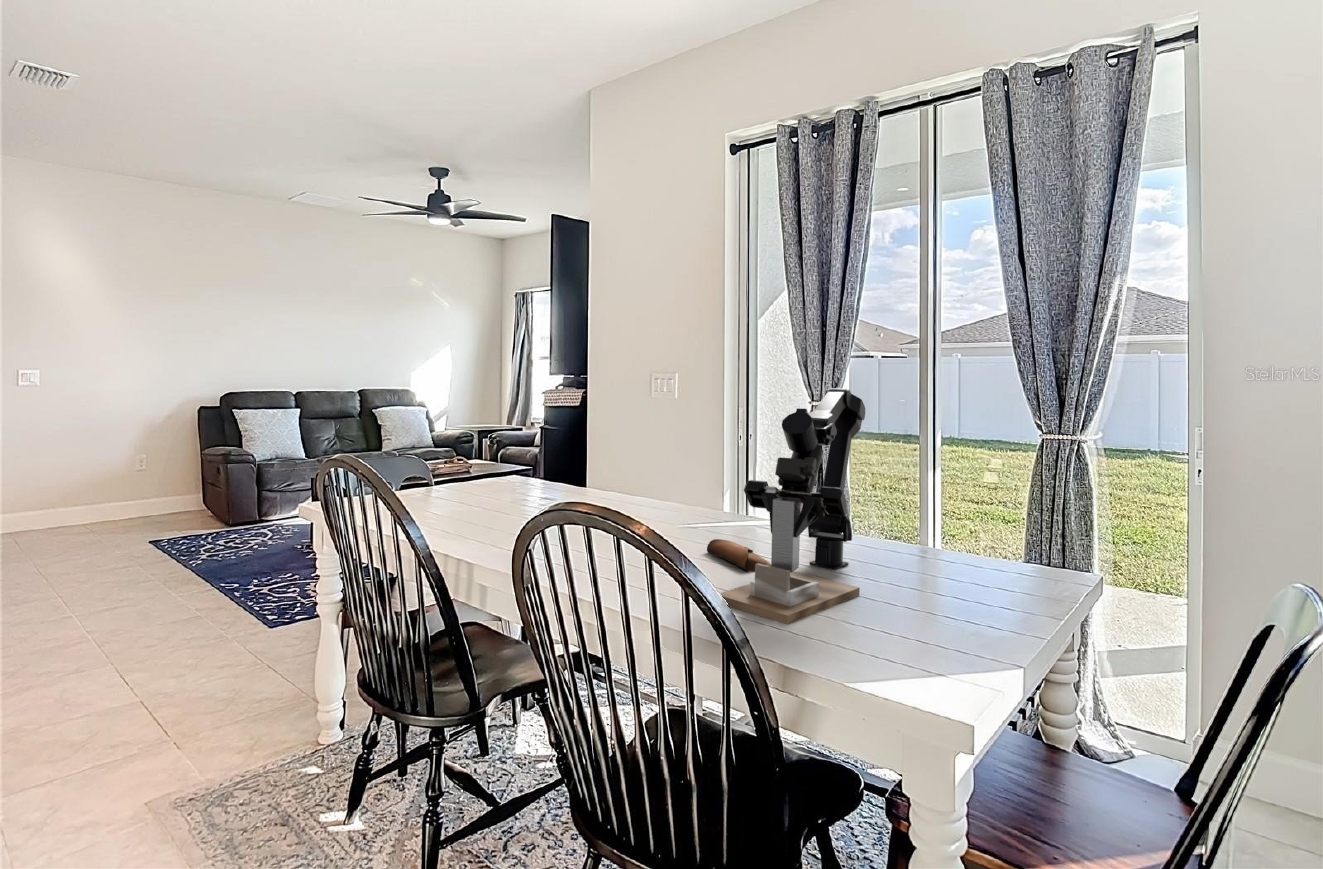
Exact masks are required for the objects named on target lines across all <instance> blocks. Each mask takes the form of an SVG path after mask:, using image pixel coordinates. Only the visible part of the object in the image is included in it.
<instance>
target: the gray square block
mask: <svg viewBox="0 0 1323 869" xmlns="http://www.w3.org/2000/svg"><path fill="white" fill-rule="evenodd" d="M801 505H802V503H801V498H790V497H778V498H776V499H773V517H772V533H771V556H770V557H771V558H770V559H771V562H770V564H771V566H772V567H776V568H780V569H785V570H789V571H790V572H791V573H792V572H796V570H798V569H799V568H800V545H801V544H800V541H801V540H800V535H801V534H800V535H799V536H798V537H797V538H796V537H794V531H795V527H796V524H797V521H798V518H799V516H800V513H801V510H802V507H801Z"/></svg>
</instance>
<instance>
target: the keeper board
mask: <svg viewBox="0 0 1323 869" xmlns="http://www.w3.org/2000/svg"><path fill="white" fill-rule="evenodd" d="M860 588H861V587H858V586H855V585H852V584H851V585H850V584H846V583H842V582H838V581H834V580H830V579H826V578H822V577H817V576H814V575H810V574H805V573H801V572H797V571H794V572H792V573H791V572H790V571H789V570H785V569H780V568H776V567H772V566H768V565H764V564H760V563H758V564H755V571H754V580H751V581H750V583H748V584H744V585H741V586H738V587H735V588H732V589H728V590H726V591H722V592H720V593H721V595H722V597H723V598H724V599H725V600H726V602H727V603H728V605H729V606H730V608H733V609H736V610H739V611H743V612H747V613H750V614H753V615H757V616H760V617H763V618H766V619H769V620H772V621H776V622H779V623H782V624H786V625H790V624H791V623H794V622H796V621H798V620H802V619H804V618H806V617H808V616H810V615H811V616H812V615H813V614H815V613H818V612H821V611H823V610H826V609H828V608H831V607H834V606H836V605H838V604H840V603H843V602H846V601H848V600H850V599H854V598H855V597H858V596H860V590H861V589H860ZM729 606H728V607H729Z"/></svg>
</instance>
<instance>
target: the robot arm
mask: <svg viewBox="0 0 1323 869" xmlns="http://www.w3.org/2000/svg"><path fill="white" fill-rule="evenodd" d="M865 417H866V407H865V403H864V402H863V399H862V398H860V397H858V396H857V395H856V394H855V395H854V394H853V393H851V391H850V389H847V388H839V387H838V388H837V387H836V388H834V387H833V388H828V389H826V390H825V392H824V396H823V397H822V399H821V400H820V402H819V403H818V404H817V406H816V408H815V409H814V410H813V411H810V412H808V409H807V408H796V410H795V412H793V413H790V414H788V415H787V416H786V417H784V419H782V421H781V428H782V431H783V434H784V437H785V440H786V443H787V447H788V449H789V450H790V451H792V454H791V456H790V457H778V458H777V461H776V467H775V473H774V474H775V476H777V477H778V480H777V483H778V485H779V487H780V486H781V489H780V488H778V487H776V486H772V485H771V486H770V485H769V483H768V481H765V480H754V479H749V480H748V481H746V483H745V485H744V488H743V491H744V494H745V497H746V498H747V502H748V503H749V506H750V507H752V508H757V509H766V511H767V512H768V514H769V527H770V533H771V534H772V517H773V499H776V498H778V497H790V498H801V504H802V507H801V511H800V516H799V518H798V521H797V524H796V527H795V531H794V537H796V538H797V537H798V536H799V535H801V534H802V533H804V531H805V530H807V531H808V532H807V534H808V538H814V539H815V549H814V550H815V551H814V552H815V554H814V560H811V561H809V565H812V566H815V567H820V568H823V569H827V570H828V569H829V570H837V569H841V568H844V567H847V566H849V562H847V561H844V559H843V558H844V557H843V556H844V554H843V553H844V543H847V542H851V541H852V540H853V528H852V523H851V519H850V517H849V514H848V511H849V510H848V508H847V506H848V504H847V498H846V496H845V491H844V489H845V484H846V483H845V482H846V477H847V470H848V464H849V457H850V451H851V446H852V445H851V444H852V440H853V438H854V437H855V436H856V435H857V434H858V433H859V432H860V431H861V427H862V423H863V421H864V420H865ZM822 446H829V449H828V455H827V460H826V467H825V473H824V478H823V484H822V485H823V486H821V487H820V490H819V493H815V492H813V490H814V487H817V483H818V481H817V477H818V473H819V470H820V465H822V464H823V455H824V450H823V448H822Z"/></svg>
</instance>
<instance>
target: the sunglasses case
mask: <svg viewBox="0 0 1323 869" xmlns="http://www.w3.org/2000/svg"><path fill="white" fill-rule="evenodd" d="M706 551H707V553H708V554H712V555H716V556H717V557H721V559H724V560H726V561H728V562H730V563H732V564H734V565H737V566H738V567H740V568H741V569H745V571H746V572H748V573H751V572H755V564H758V563H760V564H764V565H768V566H771V562H769V561H767V560H766V559H765V558H763V557H761V555H758V554H757V553H754V549H753V550H752V549H750V548H749V547H746V546H744V545H742V544H739V543H737V542H734V541H731V540H726V539H723V538H722V539H721V538H720V539H719V538H718V539H717V538H716V539H715V538H714V539H711V540H710V541H709V542H708V544H707V546H706Z"/></svg>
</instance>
